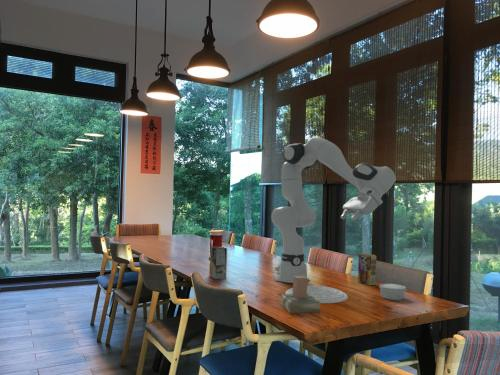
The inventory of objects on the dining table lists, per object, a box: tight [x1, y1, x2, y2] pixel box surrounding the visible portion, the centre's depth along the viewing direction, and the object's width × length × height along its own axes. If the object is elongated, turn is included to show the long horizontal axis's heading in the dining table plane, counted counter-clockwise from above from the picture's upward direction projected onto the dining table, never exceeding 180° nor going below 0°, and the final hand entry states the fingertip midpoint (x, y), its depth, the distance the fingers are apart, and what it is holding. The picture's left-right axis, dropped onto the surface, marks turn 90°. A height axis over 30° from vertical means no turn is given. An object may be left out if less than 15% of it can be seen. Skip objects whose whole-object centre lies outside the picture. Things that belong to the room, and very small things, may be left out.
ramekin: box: [379, 283, 407, 301], centre depth 179 cm, size 11×11×5 cm
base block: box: [280, 293, 321, 314], centre depth 159 cm, size 12×12×4 cm
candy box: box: [357, 252, 377, 286], centre depth 207 cm, size 9×4×15 cm, turn 29°
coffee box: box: [209, 245, 228, 280], centre depth 213 cm, size 9×6×16 cm
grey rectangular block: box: [292, 276, 308, 299], centre depth 159 cm, size 4×4×8 cm
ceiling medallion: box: [284, 284, 349, 304], centre depth 180 cm, size 28×28×3 cm
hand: (347, 218), depth 171 cm, fingers open, 8 cm apart
